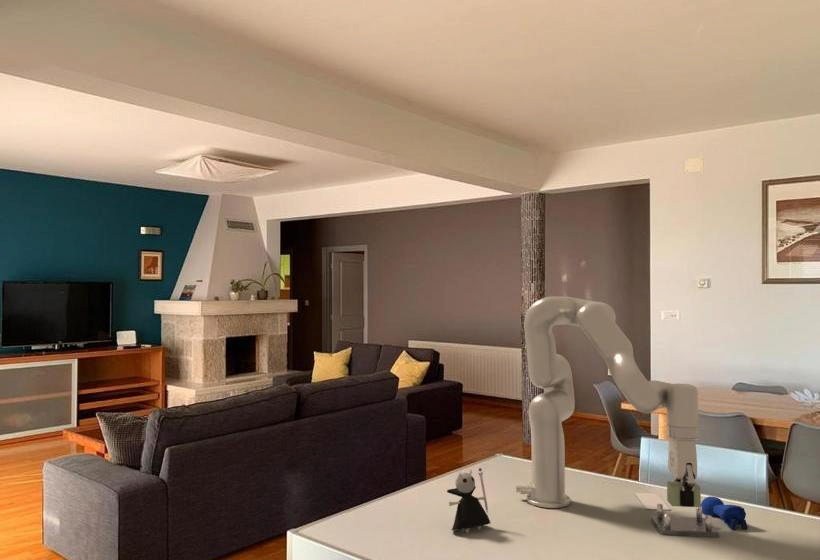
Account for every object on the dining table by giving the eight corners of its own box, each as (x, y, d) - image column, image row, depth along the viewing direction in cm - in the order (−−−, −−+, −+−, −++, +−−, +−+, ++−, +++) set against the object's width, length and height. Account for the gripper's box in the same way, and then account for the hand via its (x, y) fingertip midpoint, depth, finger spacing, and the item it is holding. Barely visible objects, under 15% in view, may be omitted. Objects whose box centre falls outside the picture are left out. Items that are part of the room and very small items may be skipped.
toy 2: (752, 532, 162) (717, 509, 177) (752, 508, 162) (717, 487, 177) (727, 533, 162) (694, 510, 177) (727, 509, 162) (694, 488, 176)
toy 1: (460, 535, 156) (450, 472, 161) (447, 534, 162) (438, 474, 166) (499, 526, 162) (488, 466, 166) (485, 526, 167) (475, 468, 172)
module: (672, 506, 161) (671, 484, 161) (667, 500, 166) (666, 479, 166) (700, 507, 160) (700, 485, 160) (695, 501, 165) (694, 480, 165)
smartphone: (646, 509, 177) (633, 492, 192) (646, 511, 177) (633, 494, 192) (671, 510, 176) (657, 493, 191) (671, 512, 176) (657, 494, 191)
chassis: (660, 534, 159) (660, 515, 159) (650, 520, 169) (650, 502, 169) (719, 537, 157) (718, 518, 157) (705, 522, 167) (705, 504, 167)
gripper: (659, 425, 172) (660, 492, 172) (676, 439, 156) (678, 513, 155) (688, 425, 171) (689, 493, 171) (708, 439, 155) (710, 514, 154)
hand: (684, 502), depth 163 cm, fingers closed on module, 4 cm apart
